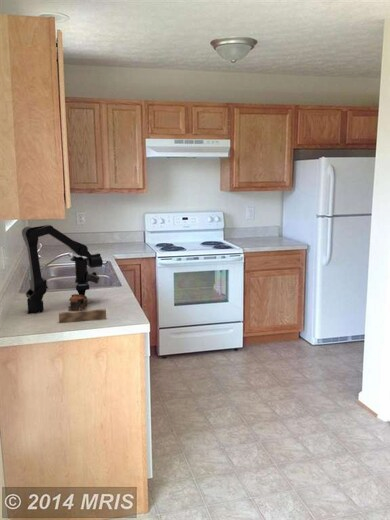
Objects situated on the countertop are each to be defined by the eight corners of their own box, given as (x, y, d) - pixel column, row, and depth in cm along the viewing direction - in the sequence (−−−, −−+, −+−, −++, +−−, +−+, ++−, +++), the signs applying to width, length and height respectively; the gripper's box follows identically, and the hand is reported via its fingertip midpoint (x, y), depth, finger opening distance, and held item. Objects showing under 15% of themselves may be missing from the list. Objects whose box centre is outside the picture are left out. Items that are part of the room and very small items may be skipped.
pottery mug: (62, 311, 223) (65, 294, 226) (78, 315, 230) (81, 299, 233) (78, 308, 216) (81, 291, 218) (94, 313, 222) (97, 296, 225)
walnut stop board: (59, 322, 204) (58, 313, 203) (59, 321, 206) (58, 312, 205) (106, 318, 209) (105, 310, 208) (105, 317, 211) (105, 308, 210)
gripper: (99, 271, 224) (100, 303, 227) (96, 264, 241) (98, 294, 244) (75, 273, 221) (76, 305, 224) (74, 266, 239) (75, 295, 241)
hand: (82, 300), depth 233 cm, fingers closed
